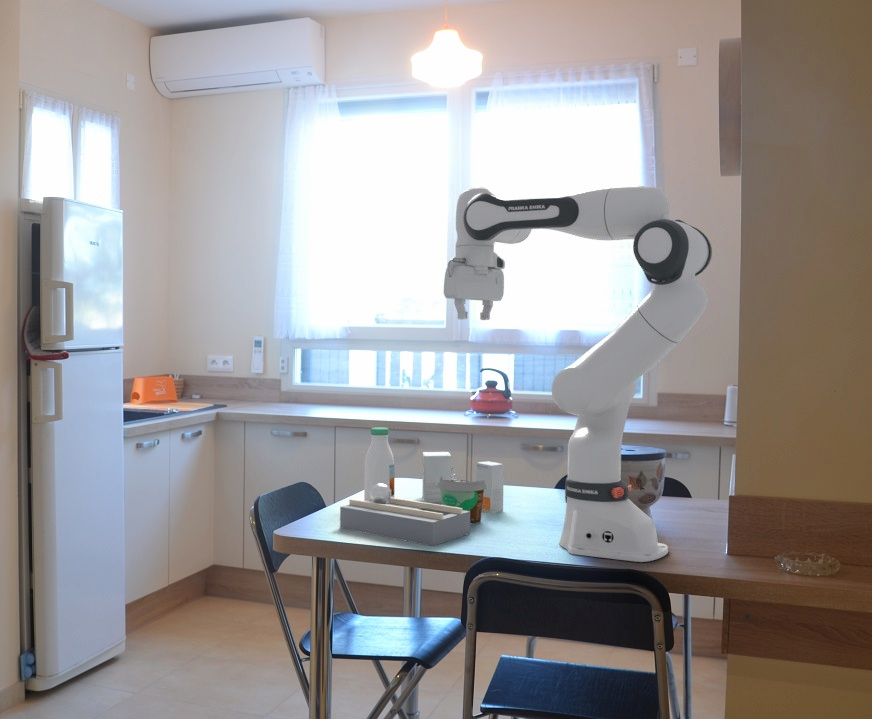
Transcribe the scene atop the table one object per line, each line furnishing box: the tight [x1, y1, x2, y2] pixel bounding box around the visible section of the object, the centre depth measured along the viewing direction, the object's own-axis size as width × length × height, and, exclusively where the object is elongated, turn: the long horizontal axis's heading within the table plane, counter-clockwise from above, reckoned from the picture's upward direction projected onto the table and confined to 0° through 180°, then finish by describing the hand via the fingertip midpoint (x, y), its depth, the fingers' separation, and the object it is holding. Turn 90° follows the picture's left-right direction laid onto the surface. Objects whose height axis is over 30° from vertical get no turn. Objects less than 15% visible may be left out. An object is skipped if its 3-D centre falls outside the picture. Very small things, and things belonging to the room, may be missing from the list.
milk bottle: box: [363, 426, 395, 501], centre depth 223 cm, size 8×8×20 cm
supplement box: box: [422, 451, 452, 503], centre depth 230 cm, size 7×7×13 cm
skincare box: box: [475, 460, 505, 514], centre depth 218 cm, size 6×4×12 cm
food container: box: [437, 476, 486, 524], centre depth 204 cm, size 12×6×10 cm, turn 62°
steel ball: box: [370, 483, 391, 504], centre depth 199 cm, size 5×5×5 cm
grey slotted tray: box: [339, 497, 471, 547], centre depth 195 cm, size 26×14×6 cm, turn 54°
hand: (474, 319), depth 201 cm, fingers open, 8 cm apart
